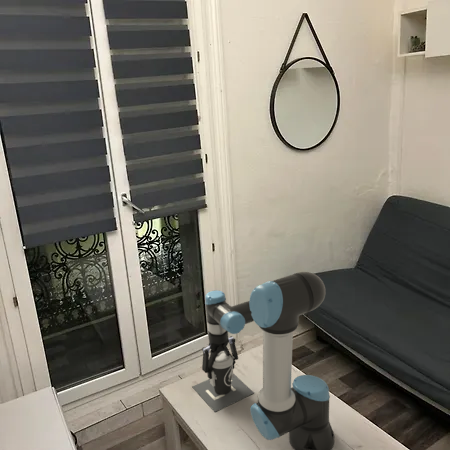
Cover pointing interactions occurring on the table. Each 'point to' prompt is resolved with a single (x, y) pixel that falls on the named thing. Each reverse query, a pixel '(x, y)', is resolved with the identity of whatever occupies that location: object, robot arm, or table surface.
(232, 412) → the table surface
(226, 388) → the coffee cup
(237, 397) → the mat
